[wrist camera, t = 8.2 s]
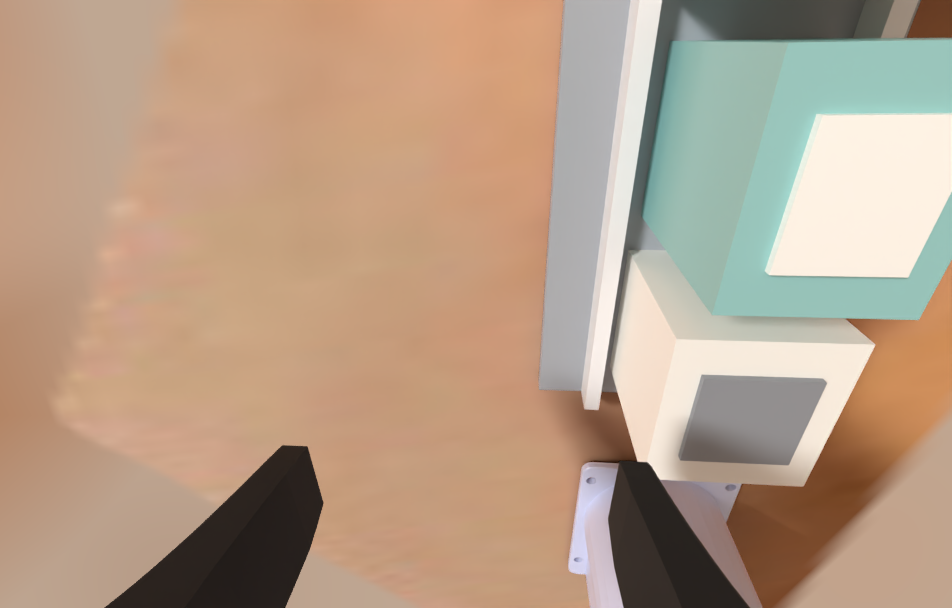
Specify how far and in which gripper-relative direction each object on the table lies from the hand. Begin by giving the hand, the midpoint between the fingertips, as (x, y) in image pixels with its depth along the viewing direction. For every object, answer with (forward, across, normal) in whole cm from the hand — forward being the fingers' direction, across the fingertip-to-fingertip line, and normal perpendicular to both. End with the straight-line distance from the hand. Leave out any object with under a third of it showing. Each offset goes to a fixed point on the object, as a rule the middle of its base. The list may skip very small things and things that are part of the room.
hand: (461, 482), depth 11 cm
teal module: (+9, -8, -6) cm, 14 cm away
